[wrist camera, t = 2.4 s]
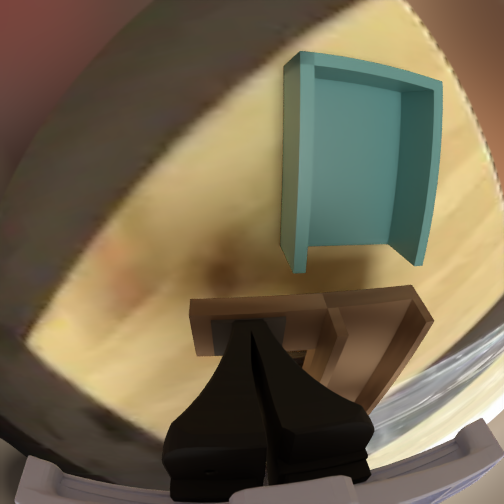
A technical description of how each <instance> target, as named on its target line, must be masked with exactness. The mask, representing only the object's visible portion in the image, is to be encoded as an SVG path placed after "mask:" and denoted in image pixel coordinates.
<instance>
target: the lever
mask: <svg viewBox="0 0 504 504" xmlns="http://www.w3.org/2000/svg"><path fill="white" fill-rule="evenodd" d="M189 319H190V324H191V329H192V335H193V340H194V345H195V350H196V355H197V356H223V354H224V352H225V350H226V347H227V344H228V341H229V338H230V335H231V330H232V323H233V321H235V320H251V319H264V320H265V321H266V323H267V325H268V327H269V329H270V330H271V332H272V333H273V335H274V336H275V338H276V339H277V340H278V342H279V343H280V344H281V345H282V347H283V348H284V349H285V350H286V352H289V351H300V350H307V353H306V356H305V360H304V364H303V367H302V368H303V369H304V370H305V371H306V372H307V373H308V374H309V375H311V376H312V377H313V378H314V379H315V380H317V381H318V382H320V383H321V384H322V385H324V386H325V387H327V388H328V389H330V390H331V391H333V392H335V393H337V394H338V395H340V396H342V397H344V398H346V399H348V400H350V401H352V402H355V403H357V404H359V405H361V406H363V408H364V410H365V411H366V413H367V414H368V415H369V414H370V413H371V412H372V410H373V409H374V408H375V407H376V405H377V404H378V403H379V402H380V400H381V399H382V398H383V396H384V395H385V394H386V393H387V391H388V390H389V389H390V387H391V386H392V385H393V383H394V382H395V380H396V379H397V378H398V376H399V375H400V373H401V372H402V371H403V369H404V368H405V366H406V365H407V363H408V362H409V360H410V359H411V357H412V356H413V354H414V353H415V351H416V350H417V348H418V347H419V345H420V344H421V342H422V340H423V339H424V337H425V336H426V334H427V332H428V331H429V329H430V327H431V326H432V324H433V322H434V320H433V318H432V316H431V315H430V313H429V311H428V310H427V308H426V306H425V305H424V303H423V302H422V300H421V298H420V297H419V295H418V294H417V292H416V291H415V289H414V288H413V286H412V285H405V286H396V287H385V288H375V289H364V290H352V291H340V292H327V293H313V294H297V295H281V296H262V297H240V298H213V299H190V309H189Z"/></svg>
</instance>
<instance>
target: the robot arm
mask: <svg viewBox="0 0 504 504" xmlns="http://www.w3.org/2000/svg"><path fill="white" fill-rule="evenodd" d="M373 433H374V426H373V424H372V422H371V419H370V418H369V416H368V414H367V413H366V411H365V410H364V408H363V406H361V405H359V404H357V403H355V402H352V401H350V400H348V399H346V398H344V397H342V396H340V395H338V394H337V393H335V392H333V391H331V390H330V389H328V388H327V387H325V386H324V385H322V384H321V383H320V382H318V381H317V380H315V379H314V378H313V377H312V376H311V375H309V374H308V373H307V372H306V371H305V370H304V369H303V368H301V367H300V366H299V365H298V364H297V363H296V362H295V361H294V359H293V358H292V357H291V356H290V355H289V354H288V353H287V352H286V350H285V349H284V348H283V347H282V345H281V344H280V343H279V342H278V340H277V339H276V338H275V336H274V335H273V333H272V332H271V330H270V329H269V327H268V325H267V323H266V321H265V320H264V319H251V320H235V321H233V323H232V330H231V335H230V338H229V341H228V344H227V347H226V350H225V352H224V354H223V357H222V359H221V361H220V363H219V365H218V367H217V369H216V371H215V372H214V374H213V376H212V377H211V379H210V381H209V382H208V383H207V385H206V386H205V388H204V389H203V391H202V392H201V393H200V394H199V396H198V397H197V398H196V399H195V400H194V401H193V403H192V404H191V405H190V406H189V407H188V408H187V409H186V410H185V411H184V412H183V413H182V414H181V415H180V416H179V417H178V418H177V419H176V420H174V421H173V422H172V423H171V425H170V427H169V430H168V432H167V435H166V438H165V441H164V445H163V453H162V463H163V465H164V467H165V469H166V471H167V472H168V474H169V476H170V477H171V483H170V491H160V490H150V489H141V488H134V487H127V486H120V485H115V484H109V483H104V482H99V481H94V480H90V479H85V478H81V477H77V476H73V475H69V474H66V473H63V472H62V471H61V469H60V468H59V467H57V466H56V465H55V464H53V463H51V462H48V461H45V460H42V459H39V458H36V457H33V456H28V459H27V462H26V465H25V468H24V471H23V474H22V477H21V480H20V483H19V487H18V490H17V494H16V497H15V503H16V504H439V503H441V502H442V501H444V500H446V499H448V498H450V497H451V496H453V495H455V494H457V493H458V492H460V491H462V490H463V489H465V488H467V487H468V486H470V485H472V484H473V483H475V482H476V481H478V480H479V479H480V478H481V477H482V476H483V475H485V474H486V473H487V472H488V471H489V470H490V469H491V468H492V467H494V466H495V465H496V464H497V463H498V462H499V461H500V460H501V459H502V458H503V457H504V451H503V450H502V448H501V447H500V445H499V443H498V442H497V440H496V438H495V437H494V435H493V434H492V432H491V431H490V429H489V428H488V426H487V424H486V423H485V421H484V420H483V418H480V419H478V420H477V421H475V422H473V423H471V424H469V425H467V426H465V427H464V428H463V429H461V430H460V431H459V432H458V434H457V435H456V436H455V438H454V439H452V440H450V441H447V442H445V443H443V444H441V445H438V446H436V447H434V448H432V449H429V450H427V451H424V452H422V453H419V454H417V455H414V456H411V457H409V458H406V459H403V460H400V461H398V462H395V463H392V464H389V465H386V466H382V467H379V468H376V469H373V470H370V469H369V466H368V463H367V461H366V459H367V458H368V454H367V452H366V449H365V448H366V446H367V444H368V443H369V441H370V439H371V438H372V436H373ZM266 463H267V472H268V482H269V486H263V479H264V477H265V468H266Z"/></svg>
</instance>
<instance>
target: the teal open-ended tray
mask: <svg viewBox="0 0 504 504" xmlns="http://www.w3.org/2000/svg"><path fill="white" fill-rule="evenodd" d="M442 112H443V85H442V81H439V80H436V79H433V78H429V77H426V76H423V75H420V74H416V73H413V72H410V71H406V70H402V69H399V68H395V67H391V66H387V65H382V64H378V63H374V62H369V61H364V60H359V59H354V58H348V57H342V56H336V55H329V54H322V53H314V52H305V51H300V52H298V53H297V54H296V55H295V56H294V57H293V58H292V59H291V60H290V61H289V62H288V63H287V64H286V65H285V66H284V121H283V174H282V209H281V236H280V246H281V248H282V250H283V252H284V255H285V257H286V259H287V261H288V263H289V265H290V268H291V270H292V272H293V273H306V262H307V250H308V246H337V245H370V244H388V245H390V246H391V247H392V248H393V249H394V250H396V251H397V252H398V253H399V254H400V255H402V256H403V257H404V258H405V259H406V260H408V261H409V262H410V263H411V264H412V265H413V266H422V265H423V260H424V256H425V252H426V247H427V242H428V237H429V232H430V227H431V221H432V216H433V210H434V203H435V196H436V189H437V181H438V173H439V163H440V152H441V137H442Z"/></svg>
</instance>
